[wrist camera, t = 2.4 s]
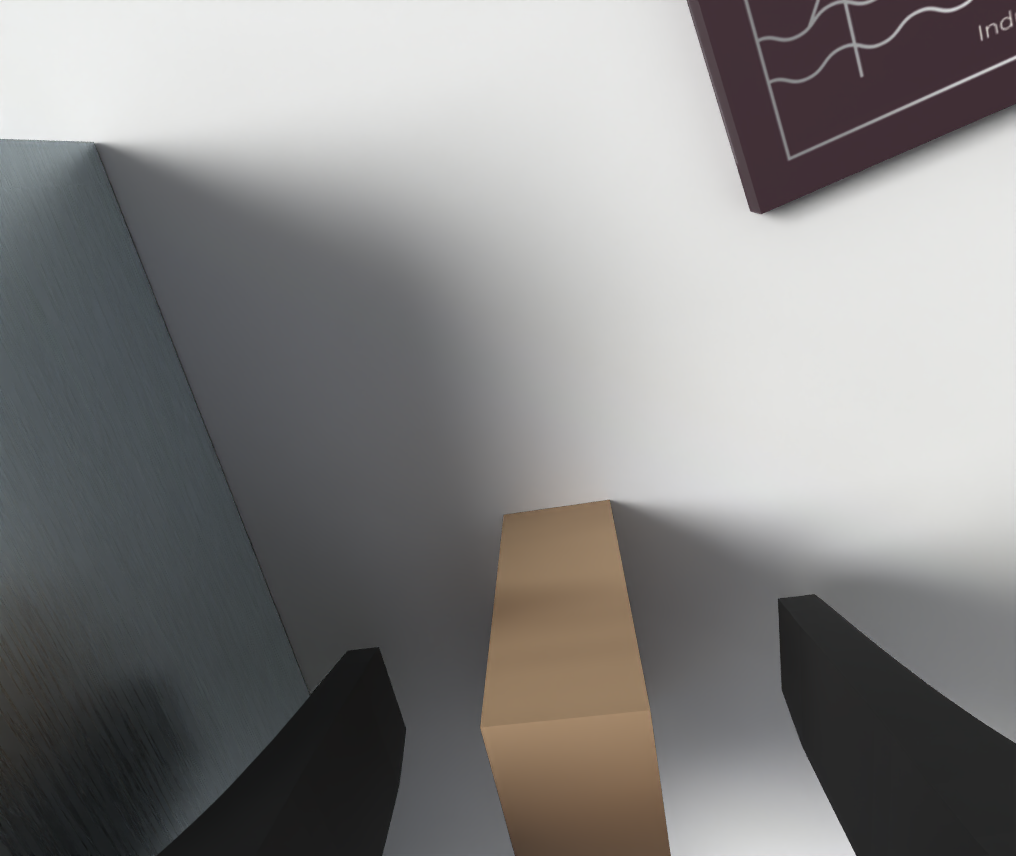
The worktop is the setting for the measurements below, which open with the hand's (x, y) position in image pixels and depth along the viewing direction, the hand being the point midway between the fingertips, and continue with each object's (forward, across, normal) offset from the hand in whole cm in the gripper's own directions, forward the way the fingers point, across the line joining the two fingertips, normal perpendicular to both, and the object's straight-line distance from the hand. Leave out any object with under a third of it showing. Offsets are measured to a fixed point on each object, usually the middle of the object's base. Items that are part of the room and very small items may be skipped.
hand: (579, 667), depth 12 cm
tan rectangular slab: (+2, 0, 0) cm, 2 cm away
